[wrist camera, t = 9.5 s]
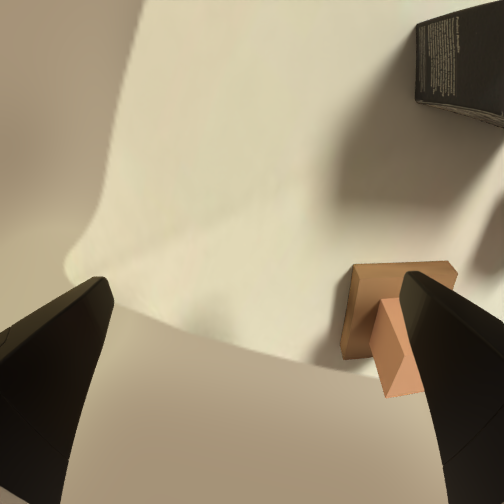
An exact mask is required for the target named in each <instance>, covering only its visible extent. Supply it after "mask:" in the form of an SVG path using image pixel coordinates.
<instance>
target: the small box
mask: <svg viewBox="0 0 504 504" xmlns="http://www.w3.org/2000/svg"><path fill="white" fill-rule="evenodd" d="M416 44H417V48H416V49H417V51H416V89H415V100H416V102H417V103H419V104H424V105H428V106H432V107H436V108H440V109H444V110H448V111H451V112H454V113H458V114H462V115H465V116H468V117H472V118H475V119H478V120H480V121H484V122H486V123H490V124H493V125H495V126H497V127H502V128H504V0H499V1H495V2H490V3H486V4H482V5H478V6H474V7H470V8H467V9H463V10H459V11H456V12H453V13H449V14H446V15H443V16H439V17H436V18H433V19H430V20H427V21H424V22H421V23H418V24H417V25H416Z"/></svg>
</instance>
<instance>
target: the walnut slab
mask: <svg viewBox="0 0 504 504" xmlns="http://www.w3.org/2000/svg"><path fill="white" fill-rule="evenodd" d="M407 271H420V272H422V273H424V274H425V275H427V276H429V277H431V278H432V279H434V280H436V281H437V282H439V283H441V284H443V285H444V286H446V287H448V288H449V289H451V290H453V287H454V284H455V281H456V278H457V275H458V273H457V271H456V270H455V269H454V268H453V267H452V265H451V264H450V263H449V262H448V261H430V262H405V263H378V264H354V265H353V272H352V279H351V286H350V292H349V298H348V304H347V310H346V315H345V321H344V326H343V331H342V336H341V341H340V347H341V352H342V356H343V360H349V359H360V358H370V357H373V355H372V351H371V348H370V345H369V342H370V338H371V335H372V331H373V327H374V323H375V320H376V316H377V312H378V308H379V304H380V300H381V299H387V298H399V293H400V289H401V286H402V282H403V278H404V274H405V273H406V272H407Z"/></svg>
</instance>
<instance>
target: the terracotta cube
mask: <svg viewBox="0 0 504 504" xmlns="http://www.w3.org/2000/svg"><path fill="white" fill-rule="evenodd" d="M369 345H370V348H371V351H372V355H373V358H374V361H375V364H376V368H377V371H378V374H379V378H380V381H381V384H382V388H383V392H384V395H385V398H390V397H397V396H402V395H408V394H413V393H418V392H423V391H424V388H423V384H422V381H421V377H420V374H419V371H418V368H417V365H416V362H415V358H414V355H413V352H412V349H411V346H410V343H409V339H408V335H407V330H406V326H405V322H404V318H403V314H402V310H401V306H400V302H399V298H387V299H381V300H380V304H379V308H378V312H377V316H376V320H375V323H374V327H373V331H372V335H371V338H370V342H369Z"/></svg>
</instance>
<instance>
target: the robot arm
mask: <svg viewBox="0 0 504 504" xmlns="http://www.w3.org/2000/svg"><path fill="white" fill-rule="evenodd" d="M399 302H400V306H401V310H402V314H403V318H404V322H405V326H406V330H407V335H408V339H409V343H410V346H411V349H412V352H413V355H414V358H415V362H416V365H417V368H418V371H419V374H420V377H421V381H422V384H423V388H424V391H425V394H426V398H427V402H428V405H429V409H430V413H431V417H432V421H433V424H434V429H435V433H436V437H437V441H438V446H439V451H440V456H441V460H442V465H443V472H444V477H445V483H446V489H447V496H448V503H449V504H504V324H503V322H502V321H501V320H499V319H498V318H496V317H495V316H493V315H491V314H490V313H488V312H487V311H485V310H484V309H482V308H480V307H479V306H477V305H476V304H474V303H472V302H471V301H469V300H467V299H466V298H464V297H463V296H461V295H459V294H458V293H456V292H454V291H453V290H451V289H449V288H448V287H446V286H444V285H443V284H441V283H439V282H437V281H436V280H434V279H432V278H431V277H429V276H427V275H425V274H424V273H422V272H420V271H407V272H406V273H405V274H404V278H403V282H402V286H401V289H400V293H399ZM113 307H114V297H113V295H112V292H111V289H110V286H109V283H108V280H107V279H106V278H105V277H92V278H90V279H89V280H87V281H85V282H83V283H82V284H80V285H78V286H76V287H75V288H73V289H71V290H70V291H68V292H66V293H65V294H63V295H61V296H59V297H58V298H56V299H54V300H52V301H51V302H49V303H48V304H46V305H44V306H43V307H41V308H39V309H38V310H36V311H34V312H33V313H31V314H29V315H28V316H26V317H25V318H23V319H21V320H20V321H18V322H17V323H15V324H14V325H12V326H11V327H9V328H7V329H5V330H4V331H2V332H1V333H0V504H27V503H29V504H60V501H61V496H62V491H63V486H64V481H65V476H66V471H67V466H68V462H69V460H68V459H69V457H70V453H71V449H72V445H73V441H74V437H75V433H76V430H77V426H78V423H79V419H80V416H81V412H82V408H83V405H84V402H85V399H86V395H87V392H88V389H89V386H90V383H91V380H92V377H93V374H94V371H95V368H96V365H97V362H98V359H99V356H100V353H101V350H102V347H103V344H104V341H105V337H106V333H107V329H108V325H109V321H110V318H111V314H112V310H113Z"/></svg>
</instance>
